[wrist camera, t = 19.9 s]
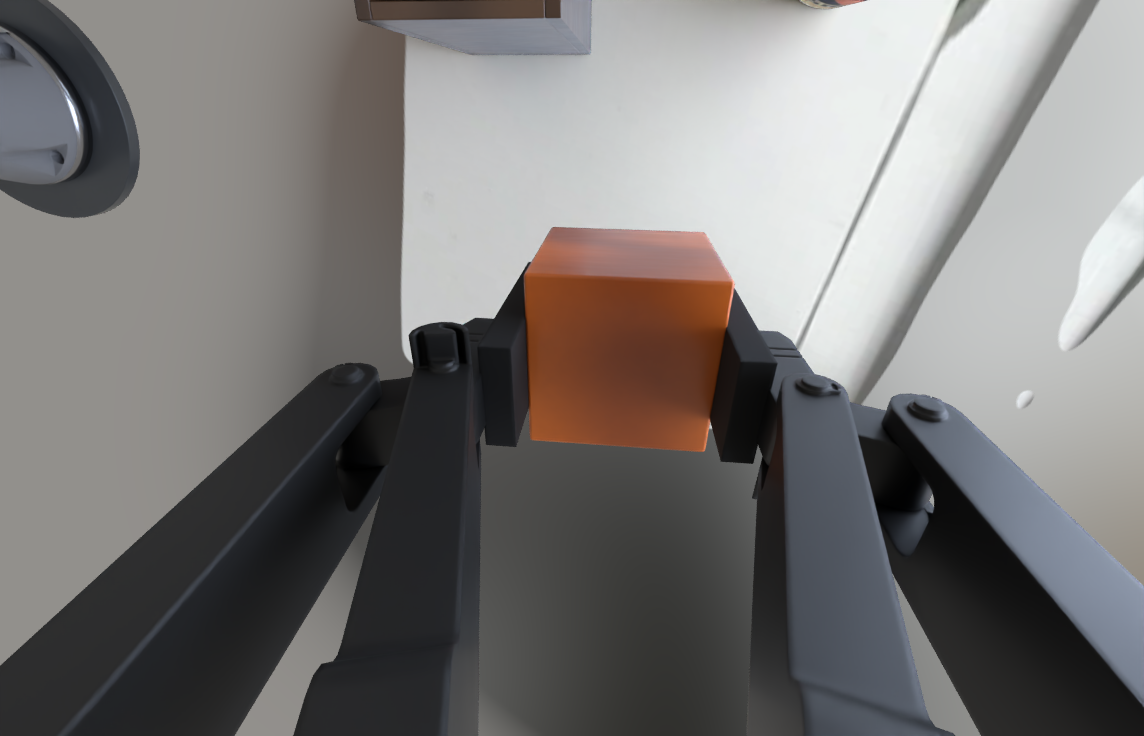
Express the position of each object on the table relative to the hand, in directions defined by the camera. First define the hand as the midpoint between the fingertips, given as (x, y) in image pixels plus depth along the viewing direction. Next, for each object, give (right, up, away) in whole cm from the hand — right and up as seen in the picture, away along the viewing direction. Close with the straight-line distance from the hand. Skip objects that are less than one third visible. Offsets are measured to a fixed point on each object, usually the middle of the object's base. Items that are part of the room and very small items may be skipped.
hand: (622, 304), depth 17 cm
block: (0, 0, 0) cm, 0 cm away
